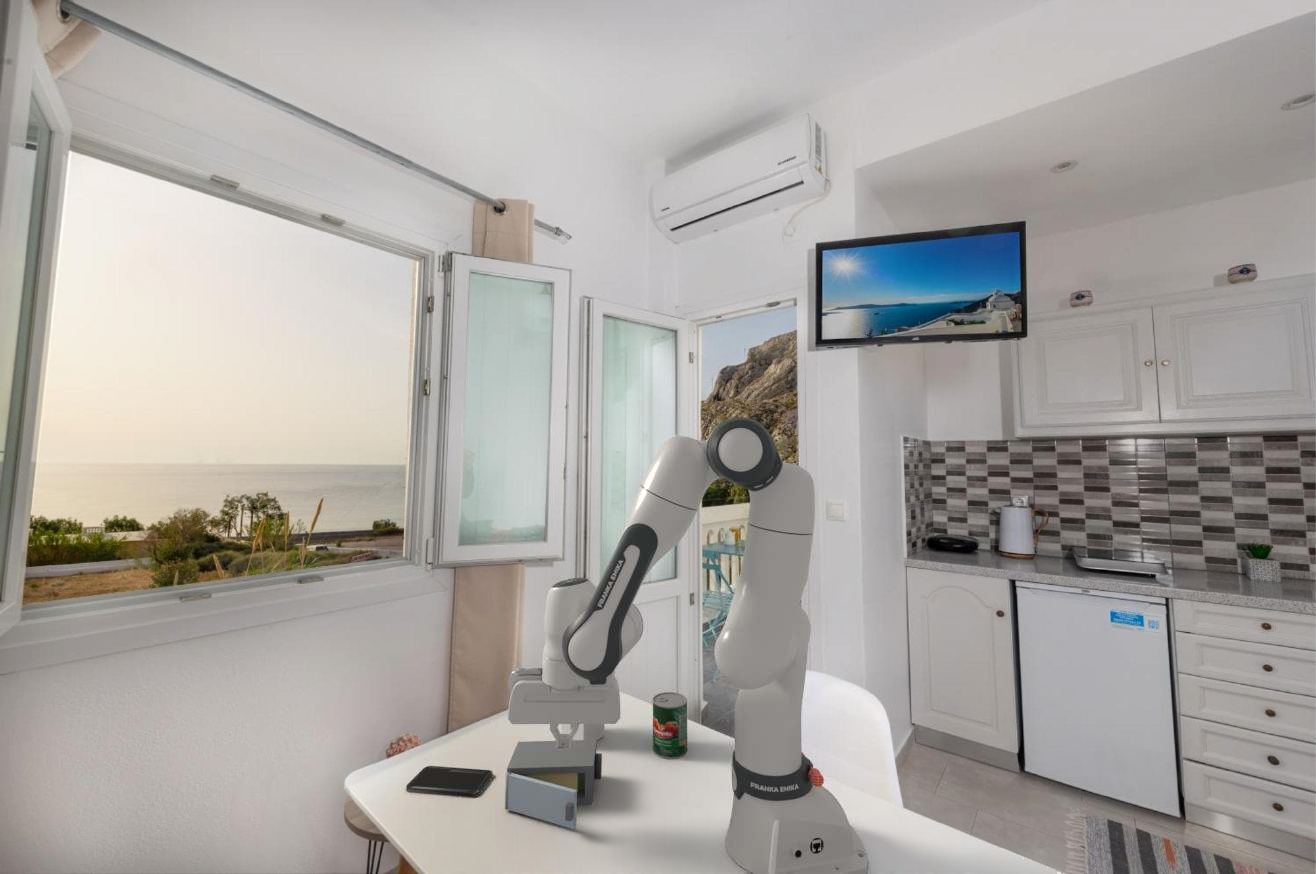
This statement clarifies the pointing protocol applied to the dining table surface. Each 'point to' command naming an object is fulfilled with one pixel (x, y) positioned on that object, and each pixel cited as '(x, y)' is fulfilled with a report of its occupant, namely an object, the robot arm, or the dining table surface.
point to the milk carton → (585, 731)
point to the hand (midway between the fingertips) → (563, 746)
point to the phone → (450, 781)
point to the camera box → (560, 765)
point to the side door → (541, 800)
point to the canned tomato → (670, 725)
